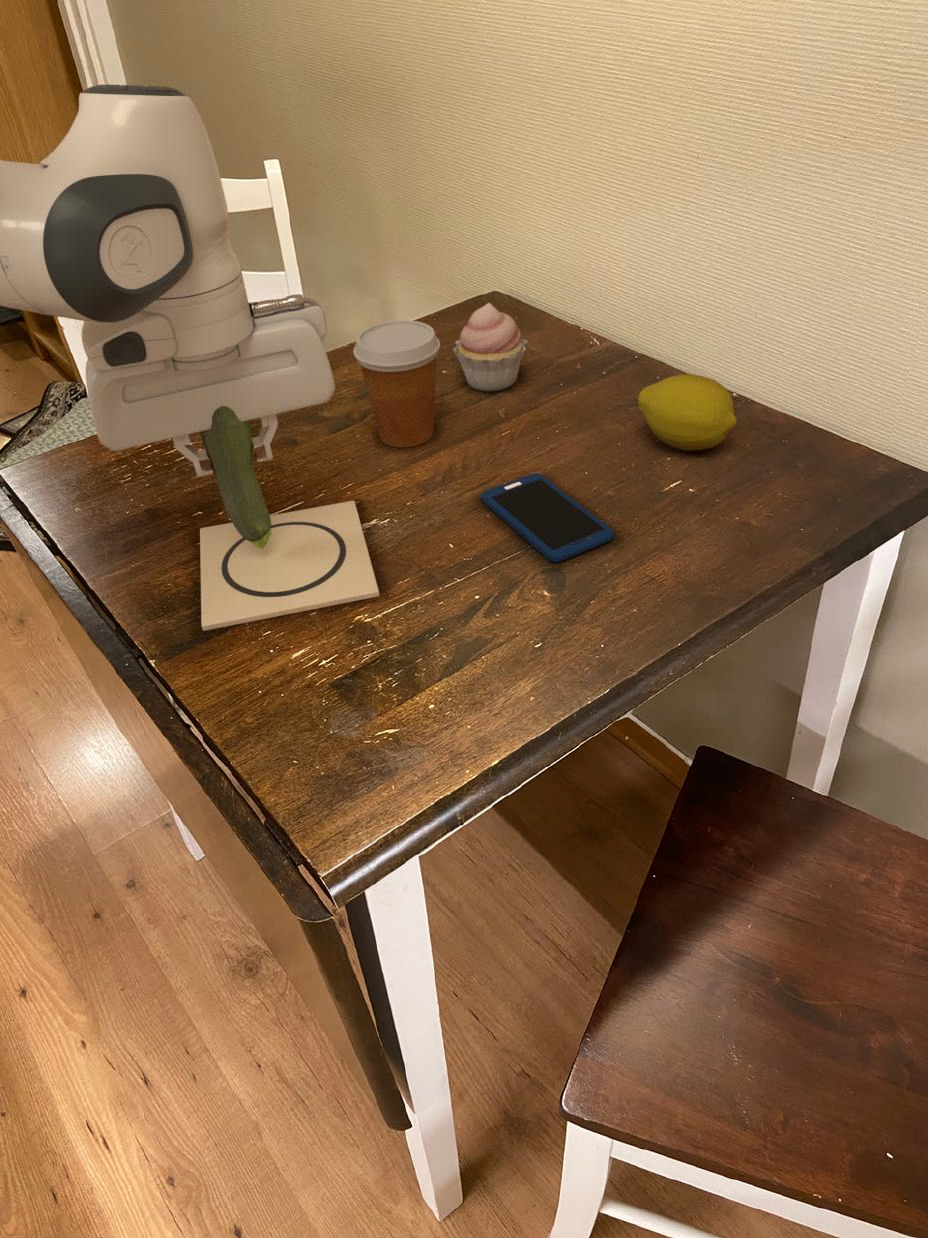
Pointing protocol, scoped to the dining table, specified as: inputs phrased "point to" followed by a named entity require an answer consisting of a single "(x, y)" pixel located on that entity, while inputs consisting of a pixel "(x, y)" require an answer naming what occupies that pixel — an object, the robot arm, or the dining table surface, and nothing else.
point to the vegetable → (237, 475)
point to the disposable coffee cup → (400, 379)
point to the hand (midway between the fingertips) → (234, 465)
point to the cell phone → (547, 517)
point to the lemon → (688, 411)
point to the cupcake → (490, 349)
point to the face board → (285, 567)
